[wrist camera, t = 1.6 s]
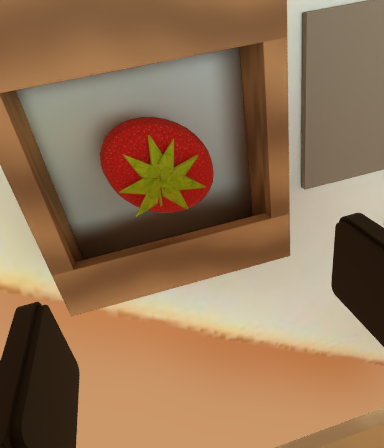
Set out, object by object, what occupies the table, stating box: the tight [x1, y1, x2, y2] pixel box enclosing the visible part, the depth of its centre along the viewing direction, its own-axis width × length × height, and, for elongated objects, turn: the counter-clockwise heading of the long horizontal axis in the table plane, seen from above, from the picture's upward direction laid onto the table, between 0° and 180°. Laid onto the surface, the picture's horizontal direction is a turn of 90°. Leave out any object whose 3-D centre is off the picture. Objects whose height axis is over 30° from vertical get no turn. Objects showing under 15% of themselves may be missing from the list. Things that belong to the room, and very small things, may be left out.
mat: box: [302, 0, 384, 189], centre depth 29 cm, size 14×14×1 cm
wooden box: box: [0, 0, 290, 316], centre depth 24 cm, size 20×18×6 cm
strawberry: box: [100, 117, 213, 218], centre depth 22 cm, size 6×8×10 cm
